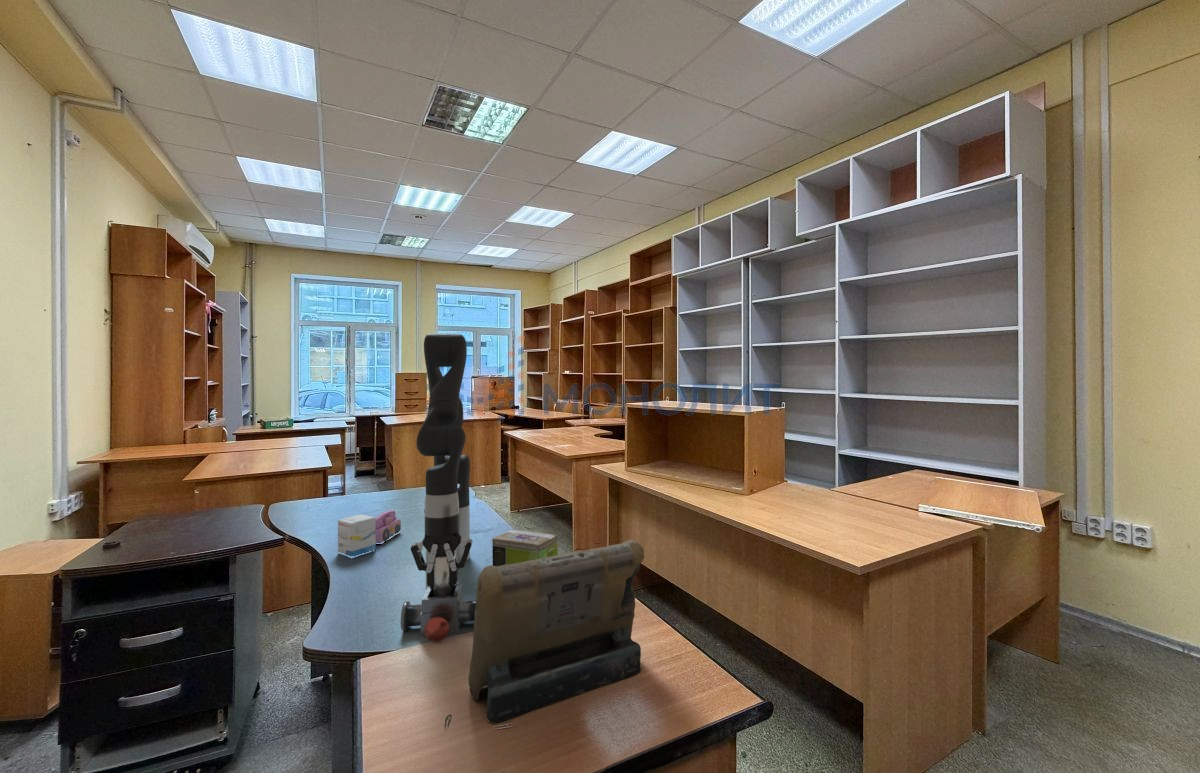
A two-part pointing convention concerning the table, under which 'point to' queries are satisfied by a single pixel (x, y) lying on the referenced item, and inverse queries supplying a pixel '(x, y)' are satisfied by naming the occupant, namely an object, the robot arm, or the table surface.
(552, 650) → the tablet
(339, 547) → the ink box
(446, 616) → the valve body
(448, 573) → the pipe stub
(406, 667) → the table surface
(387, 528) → the pink toy car
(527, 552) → the tea box
